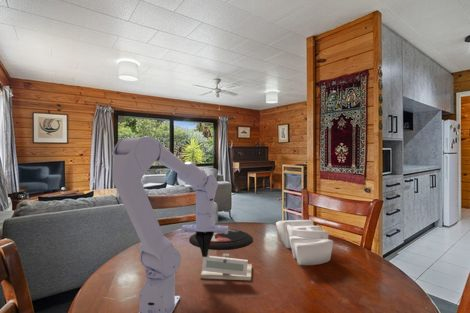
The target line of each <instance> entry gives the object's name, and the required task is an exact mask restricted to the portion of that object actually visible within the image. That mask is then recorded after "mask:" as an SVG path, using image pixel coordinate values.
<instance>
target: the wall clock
mask: <svg viewBox="0 0 470 313" xmlns="http://www.w3.org/2000/svg"><path fill="white" fill-rule="evenodd" d="M195 235H196V232H194V233H193V234H192V235H191V236H190V237H189V239H188V241H189V242H190V244H192V245H193V246H195V247H199V248H200V246H199V243H198V241H197V240H196V238H195ZM253 240H254V238H253V236H252V235H251V234H249V233H248V232H245V231H242V230H239V229H237V228H236V229H235V228H229V227H228V234H224V233H214V235H213V237H212V239H211V242H210V245H209V249H208V250H219V251H220V250H234V249H239V248H240V249H241V248H243V247H246V246H249V245H250V244H251V243H252V242H253Z"/></svg>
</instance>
